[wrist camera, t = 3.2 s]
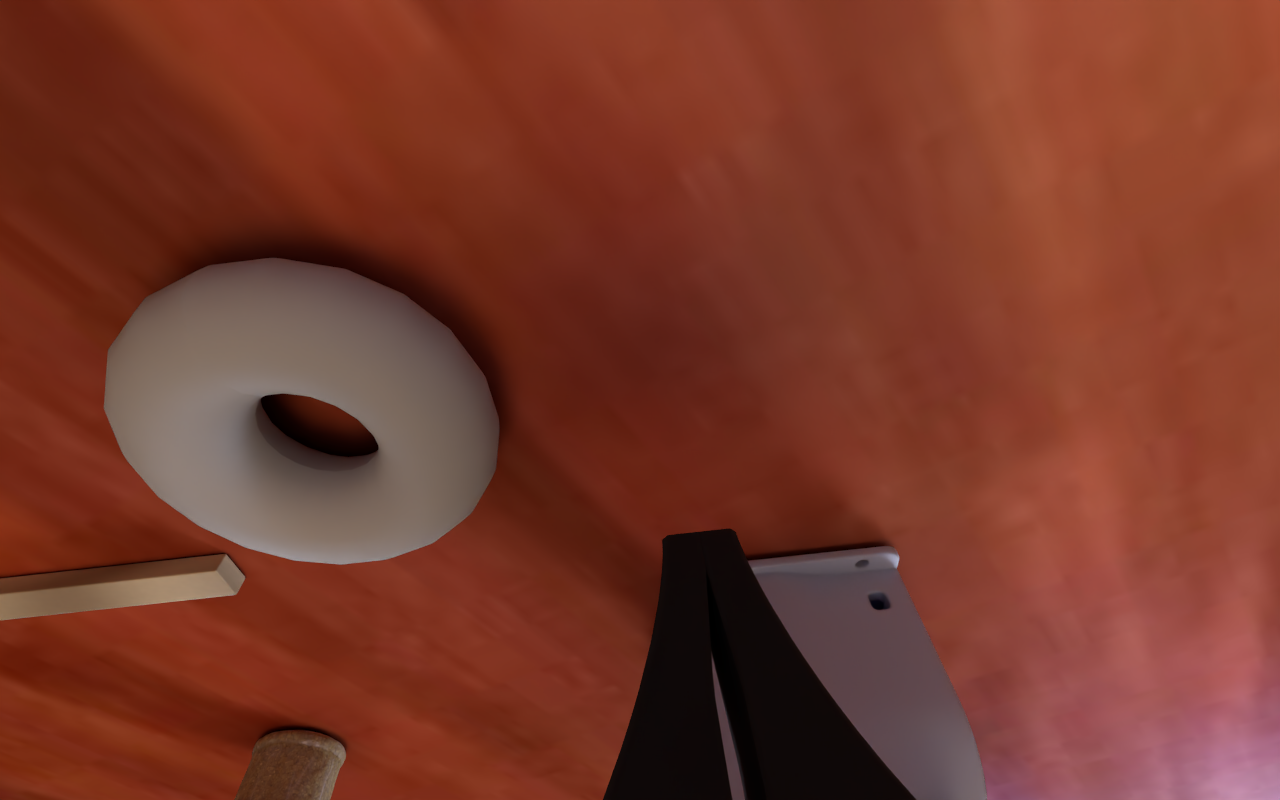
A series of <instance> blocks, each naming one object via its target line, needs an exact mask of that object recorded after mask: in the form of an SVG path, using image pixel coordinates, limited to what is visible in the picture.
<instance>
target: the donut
mask: <svg viewBox="0 0 1280 800" xmlns="http://www.w3.org/2000/svg"><path fill="white" fill-rule="evenodd" d="M282 393H285V394H293V395H301V396H308V397H312V398H315V399H318V400H321V401H324V402H326V403H329V404H332V405H335V406H337V407H339V408H340V409H342V410H343V411H345V412H347V413H348V414H350V415H351V416H353V417H355V418H356V419H358V420H359V421H360V422H361V423H362V424H363V425H364V426H365V427H366V428H367V430H368V431H369V432H370V433H371V434H372V435H373V436H374V438H375V440H376V442H377V444H378V447H379V450H377V451H376V452H374V453H371V454H369V455H363V456H354V457H344V456H335V455H329V454H326V453H323V452H320V451H317V450H314V449H311V448H308V447H306V446H304V445H302V444H300V443H299V442H297V441H295V440H293V439H292V438H290V437H288V436H286V435H285V434H284V433H283V432H282V431H280V430H279V429H278V428H277V427H276V426H275V425H274V424H273V423H272V422H271V420H270V419H269V417H268V415H267V414H266V412H265V411H264V409H263V408H262V404H261V398H262V397H264V396H266V395H273V394H282ZM104 410H105V412H106V415H107V417H108V419H109V422H110V424H111V427H112V429H113V432H114V434H115V437H116V439H117V441H118V444H119V446H120V449H121V451H122V453H123V455H124V456H125V458H126V459H127V461H128V462H129V463H130V465H131V466H132V467H133V468H134V469H135V470H136V471H137V473H138V474H139V475H140V476H141V477H142V478H143V480H144V481H145V482H146V483H147V484H148V485H149V487H150V488H151V489H152V490H153V491H154V492H155V493H156V495H157V496H158V497H159V498H161V499H162V500H163V501H165V502H166V503H168V504H169V505H170V506H172V507H173V508H175V509H176V510H177V511H179V512H180V513H182V514H183V515H184V516H186V517H187V518H189V519H190V520H191V521H193V522H194V523H196V524H197V525H198V526H200V527H202V528H204V529H206V530H209V531H211V532H213V533H215V534H217V535H219V536H222V537H224V538H226V539H228V540H230V541H232V542H235V543H237V544H239V545H241V546H243V547H246V548H249V549H253V550H257V551H260V552H264V553H268V554H272V555H276V556H279V557H283V558H287V559H291V560H295V561H307V562H319V563H330V564H350V563H359V562H368V561H377V560H385V559H389V558H393V557H396V556H399V555H401V554H404V553H407V552H410V551H412V550H415V549H418V548H421V547H424V546H426V545H429V544H432V543H434V542H435V541H436V540H438V539H439V538H440V537H442V536H443V535H444V534H446V533H447V532H448V531H450V530H451V529H452V528H454V527H455V526H456V525H458V524H459V523H460V522H461V521H463V520H464V519H465V518H466V517H467V516H468V515H470V514H471V513H472V512H473V510H474V508H475V506H476V505H477V503H478V501H479V500H480V498H481V496H482V495H483V493H484V491H485V490H486V488H487V486H488V484H489V483H490V481H491V479H492V477H493V474H494V472H495V470H496V463H497V452H498V441H499V431H500V429H499V417H498V414H497V411H496V408H495V405H494V402H493V398H492V395H491V392H490V389H489V386H488V383H487V380H486V377H485V375H484V374H483V373H482V371H481V370H480V368H479V367H478V366H477V364H476V363H475V362H474V360H473V359H472V358H471V356H470V355H469V354H468V352H467V351H466V350H465V348H464V347H463V346H462V344H461V343H460V342H459V340H458V339H457V338H456V336H455V335H454V334H453V332H452V331H451V330H450V329H449V328H448V327H446V326H445V325H444V324H443V323H441V322H440V321H439V320H437V319H436V318H435V317H433V316H432V315H431V314H429V313H428V312H427V311H426V310H424V309H423V308H422V307H420V306H419V305H418V304H416V303H415V302H414V301H412V300H411V299H410V298H409V297H407V296H406V295H405V294H403V293H400V292H398V291H396V290H393V289H391V288H389V287H387V286H384V285H382V284H380V283H377V282H375V281H373V280H370V279H368V278H366V277H363V276H361V275H359V274H356V273H354V272H352V271H350V270H347V269H343V268H337V267H331V266H325V265H318V264H312V263H306V262H300V261H294V260H288V259H281V258H265V259H257V260H248V261H240V262H232V263H224V264H215V265H209V266H206V267H204V268H202V269H200V270H198V271H195V272H193V273H192V274H190V275H188V276H186V277H184V278H182V279H180V280H178V281H176V282H174V283H172V284H170V285H169V286H167V287H165V288H163V289H161V290H159V291H157V292H155V293H153V294H151V295H149V296H148V297H146V298H145V299H144V300H143V301H142V303H141V304H140V305H139V307H138V308H137V309H136V311H135V312H134V313H133V315H132V316H131V318H130V319H129V321H128V322H127V323H126V325H125V326H124V328H123V329H122V331H121V332H120V333H119V335H118V336H117V338H116V339H115V341H114V342H113V344H112V345H111V346H110V348H109V349H108V358H107V370H106V385H105V400H104Z"/></svg>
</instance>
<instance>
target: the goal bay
mask: <svg viewBox="0 0 1280 800" xmlns="http://www.w3.org/2000/svg"><path fill="white" fill-rule="evenodd" d="M244 580H245V576H244V575H243V574H242V573H241V571H240V570H239V569H238V568H237V567H236V565H235V564H234V563H233V562H232V561H231V559H230V558H229V557H228V556H227V554H219V555H210V556H201V557H192V558H183V559H174V560H164V561H155V562H146V563H137V564H128V565H119V566H110V567H101V568H91V569H82V570H73V571H64V572H55V573H46V574H37V575H28V576H18V577H9V578H0V620H8V619H17V618H26V617H35V616H45V615H54V614H63V613H72V612H82V611H91V610H100V609H109V608H118V607H128V606H137V605H146V604H155V603H165V602H174V601H183V600H192V599H202V598H211V597H220V596H229V595H236V594H237V592H238V590H239V589H240V587H241V585H242V583H243V582H244Z"/></svg>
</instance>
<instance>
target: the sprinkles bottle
mask: <svg viewBox="0 0 1280 800" xmlns="http://www.w3.org/2000/svg"><path fill="white" fill-rule="evenodd" d="M345 758H346V752H345V748H344V747H343V746H342V744H341V743H339V742H338V741H337V740H334V739H333V738H331V737H330V736H327V735H324V734H321V733H317V732H313V731H308V730H284V731H277V732H273V733H270V734H268V735H266V736H264V737H262V738H261V739H259V740H258V741H257V742H256V744H255V746H254V749H253V752H252V759H251V762H250V764H249V767H248V769H247V771H246V774H245V776H244V778H243V780H242V783H241V785H240V787H239V790H238V793H237V795H236V798H235V799H234V800H330V798H331V795H332V792H333V789H334V785H335V781H336V778H337V775H338V772H339V769H340V767H341V766H342V764H343V762H344V760H345Z"/></svg>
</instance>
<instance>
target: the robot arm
mask: <svg viewBox="0 0 1280 800" xmlns="http://www.w3.org/2000/svg"><path fill="white" fill-rule="evenodd" d="M662 544H663V564H662V577H661V586H660V594H659V601H658V607H657V612H656V618H655V623H654V628H653V634H652V639H651V644H650V648H649V652H648V656H647V660H646V664H645V668H644V672H643V676H642V680H641V684H640V688H639V692H638V696H637V699H636V702H635V706H634V709H633V713H632V716H631V719H630V723H629V726H628V729H627V732H626V735H625V738H624V741H623V745H622V748H621V751H620V754H619V756H618V759H617V762H616V765H615V768H614V770H613V773H612V776H611V779H610V782H609V785H608V787H607V790H606V793H605V796H604V798H603V800H987V794H986V785H985V778H984V773H983V769H982V764H981V760H980V756H979V753H978V749H977V745H976V742H975V739H974V736H973V733H972V730H971V727H970V724H969V722H968V719H967V716H966V714H965V711H964V709H963V707H962V705H961V702H960V700H959V698H958V696H957V694H956V692H955V690H954V687H953V685H952V683H951V681H950V679H949V677H948V675H947V673H946V671H945V669H944V666H943V664H942V662H941V660H940V658H939V656H938V654H937V652H936V650H935V648H934V646H933V643H932V641H931V639H930V637H929V635H928V633H927V631H926V629H925V627H924V625H923V622H922V620H921V618H920V616H919V614H918V612H917V610H916V608H915V606H914V604H913V602H912V599H911V597H910V595H909V593H908V591H907V589H906V587H905V585H904V583H903V581H902V579H901V576H900V574H899V572H898V570H897V566H898V562H899V555H898V553H897V551H896V549H895V548H894V547H891V546H880V547H871V548H862V549H852V550H843V551H834V552H825V553H815V554H806V555H797V556H787V557H778V558H769V559H760V560H750V561H748V560H747V558H746V556H745V554H744V552H743V549H742V547H741V545H740V542H739V540H738V537H737V535H736V532H735V531H733V530H732V529H721V530H712V531H703V532H694V533H684V534H675V535H667V536H666V537H665V538H664V539H663V540H662Z"/></svg>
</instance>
